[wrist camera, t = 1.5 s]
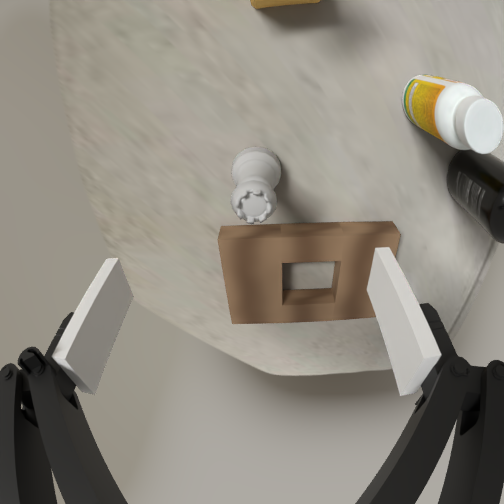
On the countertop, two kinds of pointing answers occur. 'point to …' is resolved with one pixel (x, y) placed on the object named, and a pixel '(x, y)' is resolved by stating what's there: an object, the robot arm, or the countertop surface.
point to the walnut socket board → (300, 250)
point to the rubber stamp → (278, 2)
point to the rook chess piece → (255, 184)
